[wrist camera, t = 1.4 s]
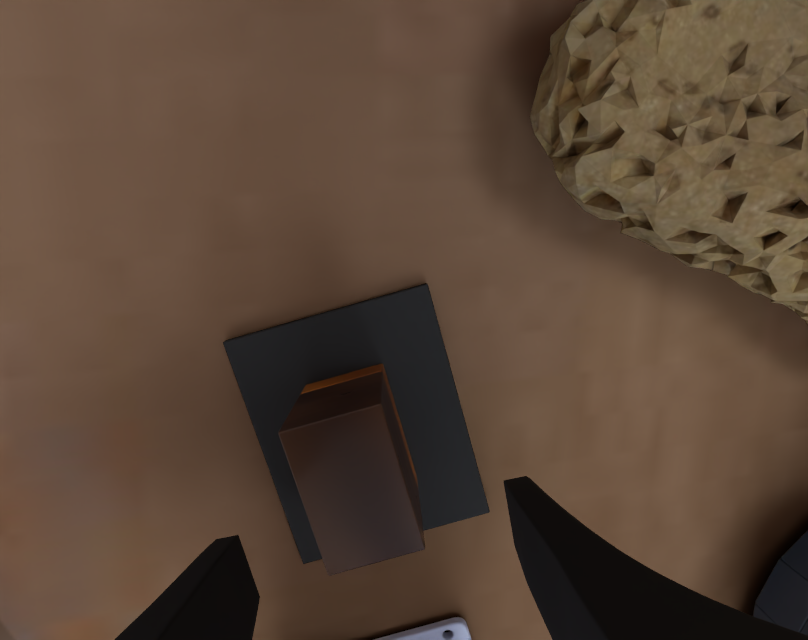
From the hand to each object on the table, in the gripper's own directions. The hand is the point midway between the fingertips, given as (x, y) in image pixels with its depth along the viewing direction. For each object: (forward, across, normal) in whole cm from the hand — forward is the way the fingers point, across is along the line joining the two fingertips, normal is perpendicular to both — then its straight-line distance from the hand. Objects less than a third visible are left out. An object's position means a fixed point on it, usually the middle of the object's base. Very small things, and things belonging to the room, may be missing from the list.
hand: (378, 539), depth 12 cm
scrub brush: (+8, +1, +1) cm, 8 cm away
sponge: (+9, -17, -6) cm, 20 cm away
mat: (+8, +1, +1) cm, 9 cm away
